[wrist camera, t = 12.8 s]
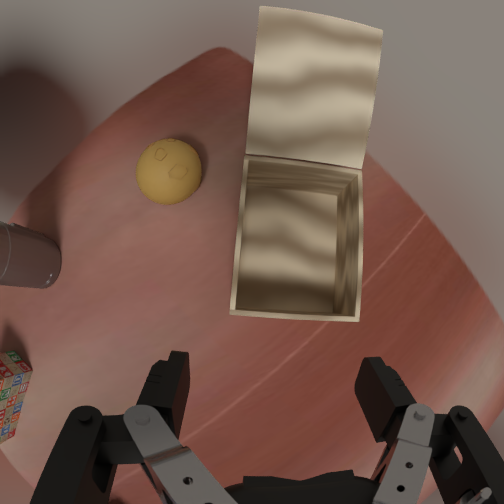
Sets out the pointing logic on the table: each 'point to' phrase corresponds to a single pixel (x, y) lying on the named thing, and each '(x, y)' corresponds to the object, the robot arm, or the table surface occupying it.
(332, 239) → the carton
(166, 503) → the robot arm
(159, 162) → the stress ball
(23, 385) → the stack of blocks
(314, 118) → the lid flap
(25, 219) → the table surface
